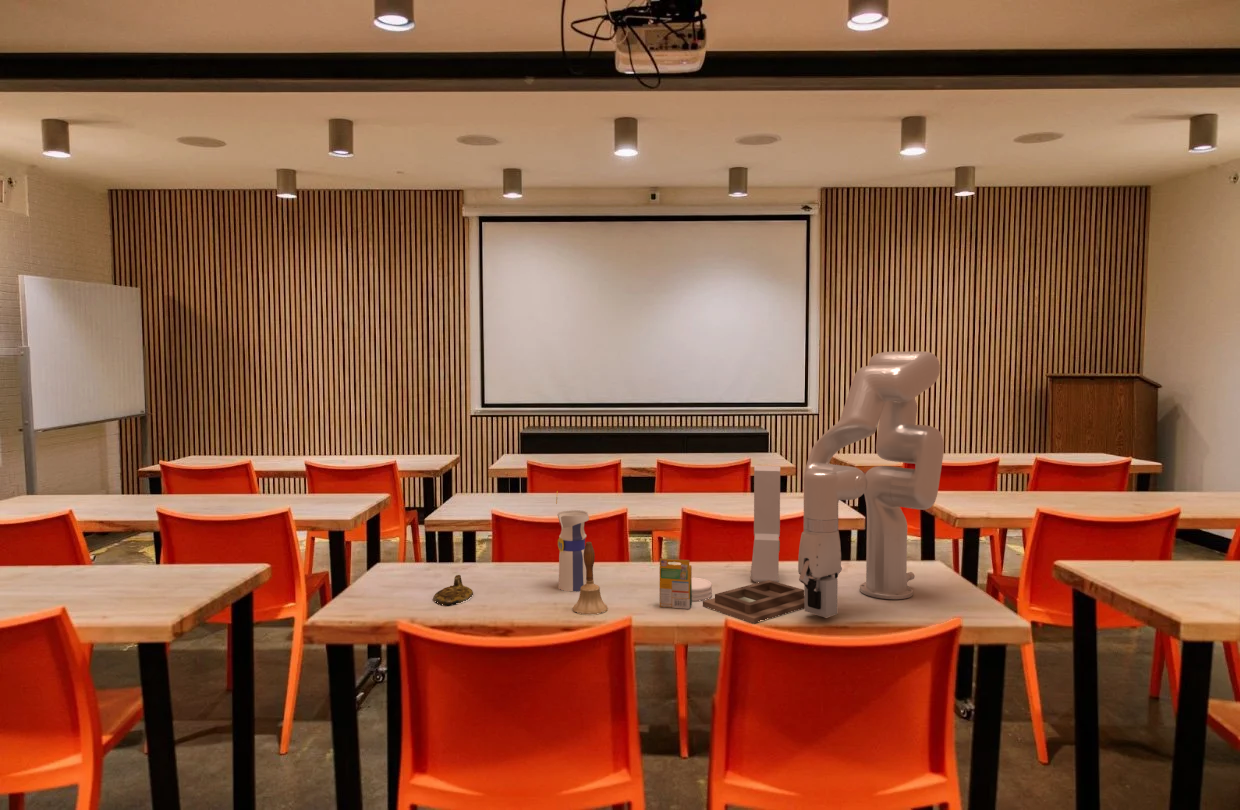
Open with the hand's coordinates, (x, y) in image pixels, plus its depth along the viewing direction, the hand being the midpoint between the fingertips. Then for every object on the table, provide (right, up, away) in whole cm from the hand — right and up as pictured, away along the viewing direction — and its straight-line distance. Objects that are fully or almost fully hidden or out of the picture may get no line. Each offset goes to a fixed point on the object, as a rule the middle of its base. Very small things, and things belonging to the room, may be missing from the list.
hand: (820, 604), depth 176 cm
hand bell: (-52, -3, +7) cm, 53 cm away
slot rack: (-12, -3, +10) cm, 16 cm away
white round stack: (-27, -3, +18) cm, 33 cm away
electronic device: (-6, -1, +33) cm, 34 cm away
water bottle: (-57, -2, +25) cm, 62 cm away
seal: (-86, -3, +18) cm, 88 cm away
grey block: (0, -2, 0) cm, 2 cm away
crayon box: (-32, -3, +9) cm, 33 cm away
